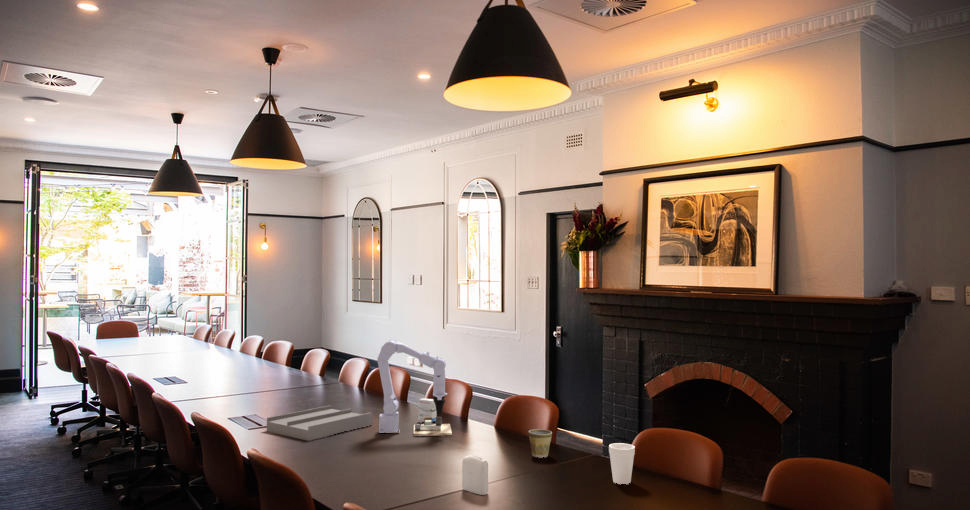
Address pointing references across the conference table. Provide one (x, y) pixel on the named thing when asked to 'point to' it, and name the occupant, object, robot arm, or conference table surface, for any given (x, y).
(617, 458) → the foam cup
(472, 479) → the white upright slab
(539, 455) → the ceramic cup
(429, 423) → the block
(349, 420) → the desk organizer
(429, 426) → the lever
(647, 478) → the conference table surface
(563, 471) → the conference table surface
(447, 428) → the base
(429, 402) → the ink box
